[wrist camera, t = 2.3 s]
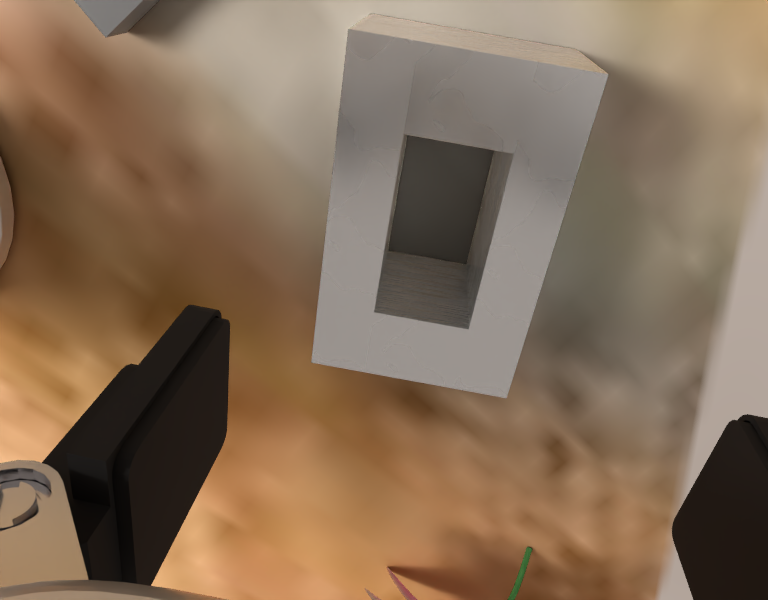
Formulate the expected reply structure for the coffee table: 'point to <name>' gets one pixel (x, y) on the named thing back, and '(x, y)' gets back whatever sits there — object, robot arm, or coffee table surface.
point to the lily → (409, 596)
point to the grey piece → (115, 14)
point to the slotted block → (497, 211)
